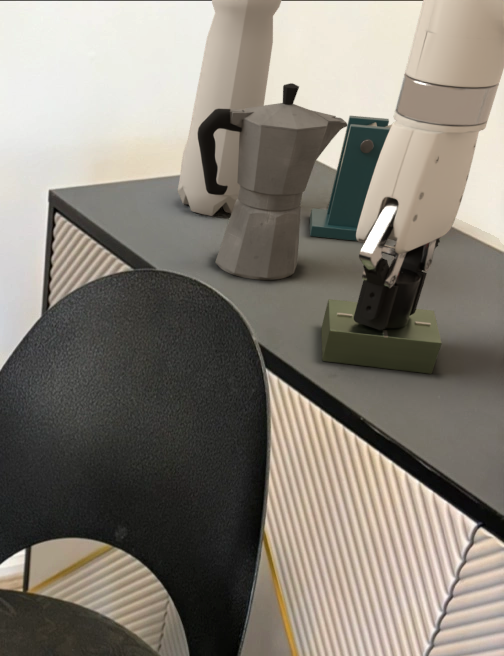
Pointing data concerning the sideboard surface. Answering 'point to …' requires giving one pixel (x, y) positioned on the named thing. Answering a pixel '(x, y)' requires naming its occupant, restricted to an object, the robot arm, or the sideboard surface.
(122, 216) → the sideboard surface
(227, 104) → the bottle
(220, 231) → the sideboard surface
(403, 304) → the knob
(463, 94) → the robot arm
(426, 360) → the panel
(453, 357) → the sideboard surface
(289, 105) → the coffeepot
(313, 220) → the teal lever mount
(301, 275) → the sideboard surface
